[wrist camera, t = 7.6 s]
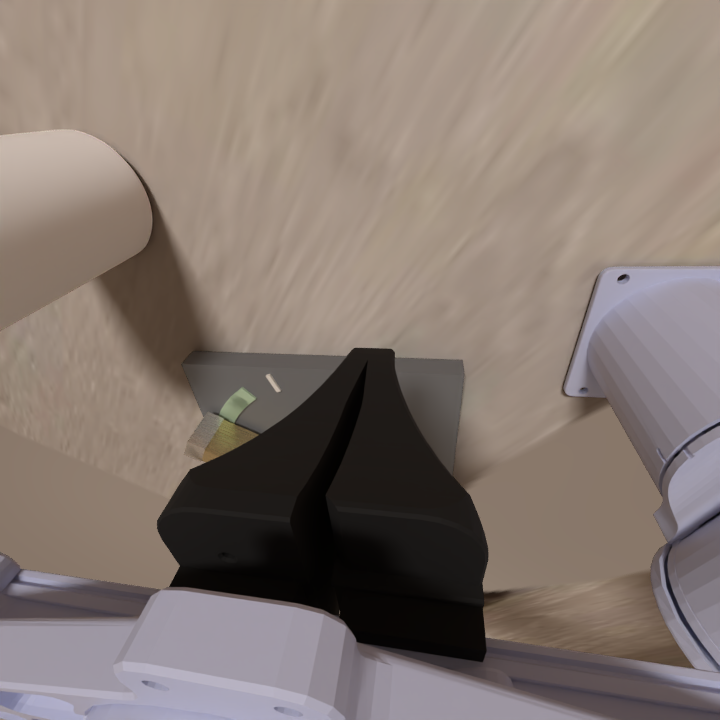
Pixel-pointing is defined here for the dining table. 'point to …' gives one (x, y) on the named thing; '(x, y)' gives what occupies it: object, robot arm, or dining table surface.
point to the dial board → (306, 374)
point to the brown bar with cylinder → (215, 438)
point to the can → (63, 216)
